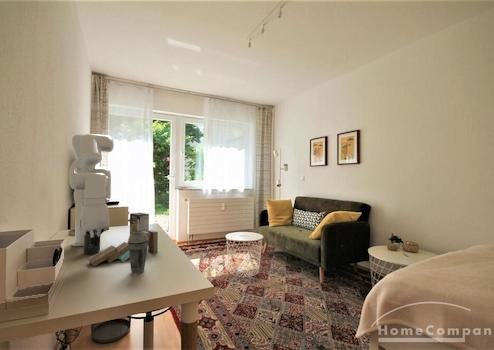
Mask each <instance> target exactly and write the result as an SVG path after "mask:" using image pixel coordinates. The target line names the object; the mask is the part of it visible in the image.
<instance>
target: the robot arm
mask: <svg viewBox="0 0 494 350" xmlns="http://www.w3.org/2000/svg"><path fill="white" fill-rule="evenodd" d="M71 143H72V144H71V145H72V149H73V150H74V153H75V155H76V159H75V160H73V162H72V163H71V165H70V167H69V172H68V175H69V176H68V180H69V182H68V183H69V186H70V188H71V189H72V190H73V199H74V206H75V207H74V208H75V210H74V213H75V215H74V216H75V217H74V218H75V221H74V224H75V226H74V240H73V241H71V245H70V246H73V247H84V235H85V234H87V235H88V236H90V245H91V246H92V247H95V246H96V247H97V246H98V244H99V236H100V235H102V234H103V233H104V232H106V231H109V230H110V213H109V206H108V205H107V203H109V202H110V200H111V197H112V196H111V195H112V192H111V191H112V190H111V189H112V187H111V185H112V175H111V170H110V169H109V168H108V167H103V166H100V167H99V166H97V165H98V164H100V163H101V162H102V158H103V157H102V152H104V153H105V152H106V153H107V152H108V153H111V152H113V150H114V145H115V144H114V143H115V142H114V140H113V138H112V136H110V135H106V134H96V133H95V134H94V133H85V134H74V135H73V136H72V138H71ZM93 230H96V234H95V236H94V233H93Z"/></svg>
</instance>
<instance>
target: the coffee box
mask: <svg viewBox="0 0 494 350" xmlns="http://www.w3.org/2000/svg"><path fill="white" fill-rule="evenodd" d="M137 219H139V231H145V232H148V230H149V229H150V228H149V227H150V223H149V222H150V214H149V213H146V212H145V213H144V212H132V213H129V236H130V235H131V234H132V233H133V232H135V231H137Z"/></svg>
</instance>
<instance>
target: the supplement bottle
mask: <svg viewBox="0 0 494 350" xmlns="http://www.w3.org/2000/svg"><path fill="white" fill-rule="evenodd" d="M93 233H94V236H95V234H96V230H93ZM101 235H102V234H101ZM101 235H100V236H99V244H98V246H97V247H96V246H95V247H92V246H91V245H90V236H88V235H87V234H85V235H84V246H82V247H83V250H82V251H83V252H82V253H83V254H84V255H86V256H87V255H94V254H95V255H96V254H98V253H99V252H101Z"/></svg>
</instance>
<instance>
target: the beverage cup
mask: <svg viewBox="0 0 494 350" xmlns="http://www.w3.org/2000/svg"><path fill="white" fill-rule="evenodd" d="M127 243H128V247H129V253H130V257H129V262H130V273H131V274H132V275H133V274H134V275H137V274H138V275H139V274H142V273H144V271H145V267H146V258H147V257H146V256H147V254H146V248H147V244H148V237H147V235H146V234H145V233H144V232H143V231H139V219H137V231H135V232H133V233H132V234H131V235H130V234H129V237H128V240H127ZM147 249H148V248H147Z"/></svg>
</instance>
